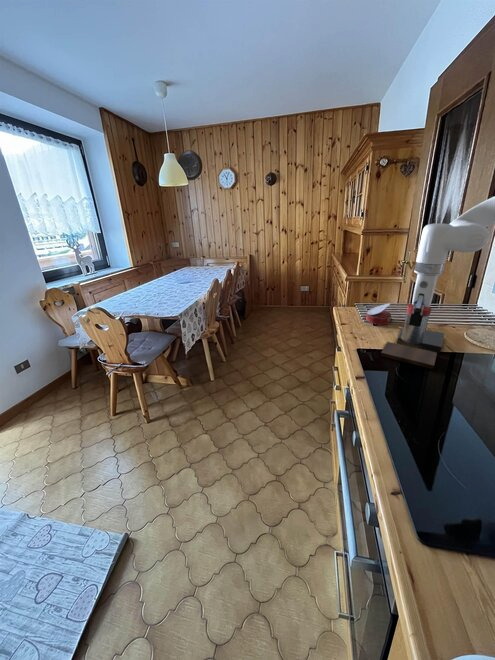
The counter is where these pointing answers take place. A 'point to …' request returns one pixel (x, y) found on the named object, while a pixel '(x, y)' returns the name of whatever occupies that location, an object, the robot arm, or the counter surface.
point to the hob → (426, 341)
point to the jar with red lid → (414, 332)
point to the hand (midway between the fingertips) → (416, 320)
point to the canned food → (378, 315)
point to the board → (409, 355)
